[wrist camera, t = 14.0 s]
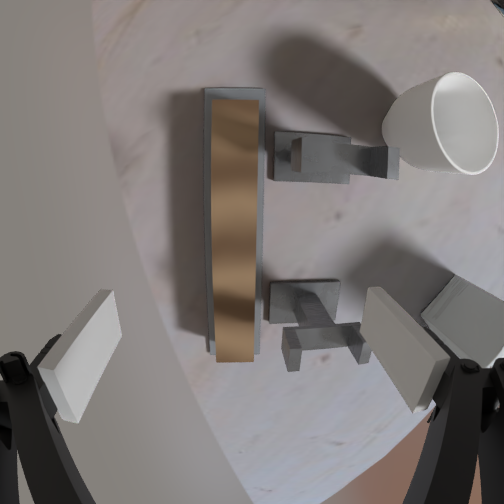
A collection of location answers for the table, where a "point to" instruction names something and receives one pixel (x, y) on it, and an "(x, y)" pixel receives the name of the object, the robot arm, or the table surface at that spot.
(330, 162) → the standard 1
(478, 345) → the skincare box
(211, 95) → the mat
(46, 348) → the robot arm
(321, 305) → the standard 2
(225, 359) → the rail
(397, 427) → the table surface
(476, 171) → the mug
